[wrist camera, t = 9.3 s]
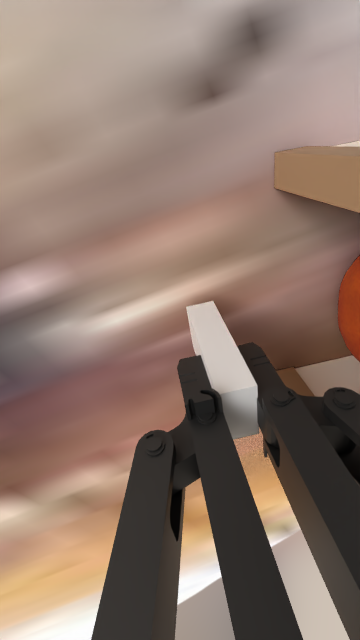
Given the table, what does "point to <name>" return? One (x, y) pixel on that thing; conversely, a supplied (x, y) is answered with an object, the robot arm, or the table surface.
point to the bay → (339, 190)
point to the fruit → (350, 309)
